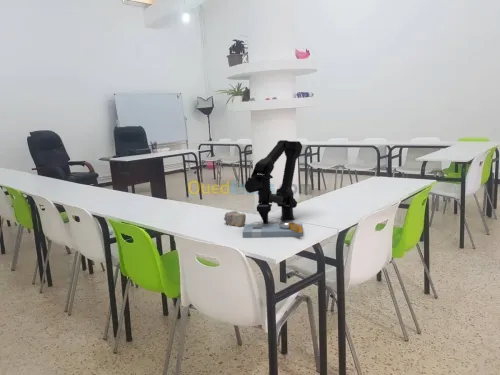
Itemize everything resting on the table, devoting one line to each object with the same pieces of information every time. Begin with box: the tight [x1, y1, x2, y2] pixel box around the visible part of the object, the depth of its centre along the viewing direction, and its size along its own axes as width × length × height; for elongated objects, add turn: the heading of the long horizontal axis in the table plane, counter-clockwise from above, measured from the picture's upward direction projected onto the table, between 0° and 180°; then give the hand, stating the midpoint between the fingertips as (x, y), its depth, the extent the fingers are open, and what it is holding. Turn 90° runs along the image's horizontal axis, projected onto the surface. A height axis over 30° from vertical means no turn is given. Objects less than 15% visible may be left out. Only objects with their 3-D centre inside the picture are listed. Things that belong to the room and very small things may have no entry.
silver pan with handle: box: [278, 219, 304, 233], centre depth 168 cm, size 6×14×3 cm, turn 27°
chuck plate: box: [242, 222, 304, 239], centre depth 173 cm, size 12×26×2 cm, turn 84°
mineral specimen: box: [223, 210, 247, 227], centre depth 190 cm, size 13×7×6 cm, turn 57°
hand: (265, 221), depth 183 cm, fingers open, 5 cm apart
